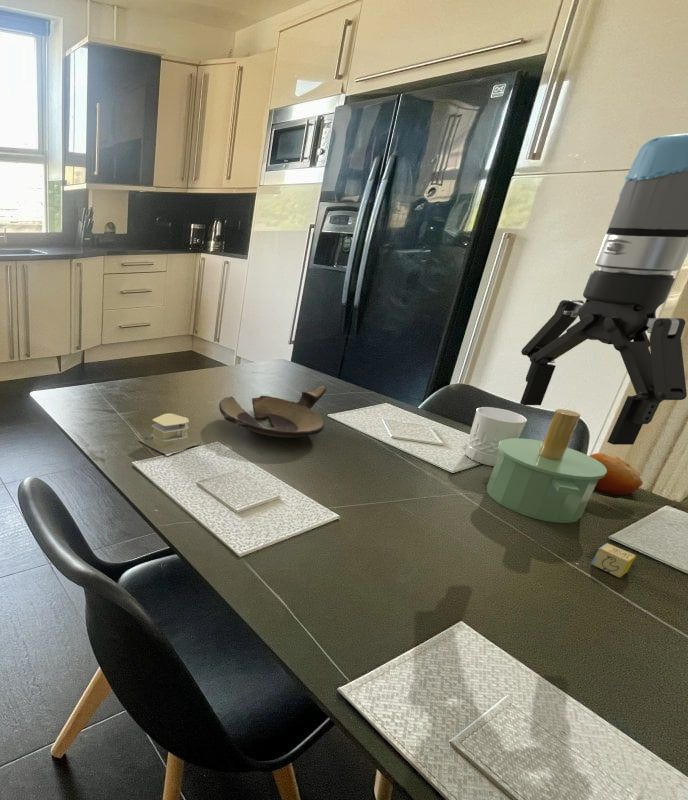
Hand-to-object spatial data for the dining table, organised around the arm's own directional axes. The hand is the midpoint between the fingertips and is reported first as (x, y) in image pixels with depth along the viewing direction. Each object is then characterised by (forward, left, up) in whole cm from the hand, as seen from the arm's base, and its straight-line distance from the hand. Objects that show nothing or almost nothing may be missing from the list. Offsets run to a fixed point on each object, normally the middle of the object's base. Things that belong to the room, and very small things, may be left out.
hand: (570, 422), depth 70 cm
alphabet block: (-8, +5, -19) cm, 22 cm away
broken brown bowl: (+39, -24, -19) cm, 50 cm away
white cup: (-1, -28, -19) cm, 34 cm away
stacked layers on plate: (+60, -6, -19) cm, 63 cm away
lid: (-4, -12, -11) cm, 16 cm away
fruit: (-17, -22, -19) cm, 34 cm away
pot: (-4, -12, -19) cm, 23 cm away
